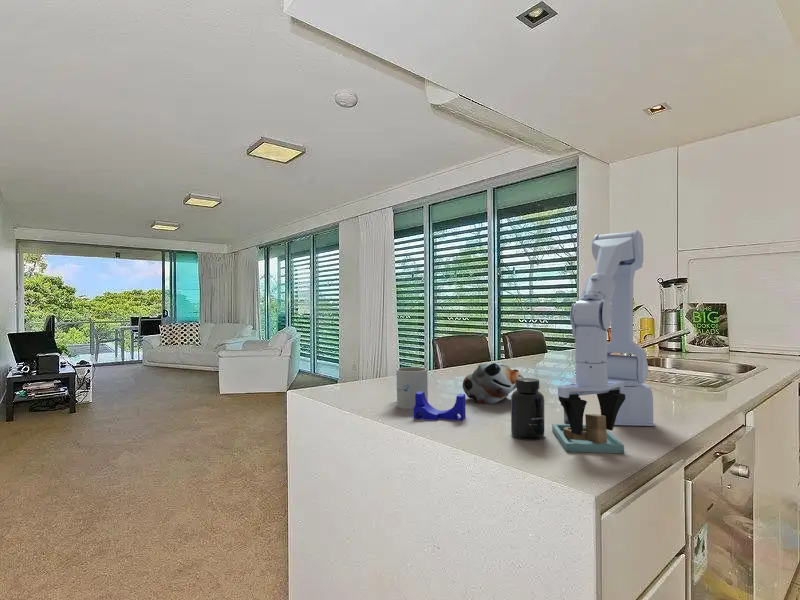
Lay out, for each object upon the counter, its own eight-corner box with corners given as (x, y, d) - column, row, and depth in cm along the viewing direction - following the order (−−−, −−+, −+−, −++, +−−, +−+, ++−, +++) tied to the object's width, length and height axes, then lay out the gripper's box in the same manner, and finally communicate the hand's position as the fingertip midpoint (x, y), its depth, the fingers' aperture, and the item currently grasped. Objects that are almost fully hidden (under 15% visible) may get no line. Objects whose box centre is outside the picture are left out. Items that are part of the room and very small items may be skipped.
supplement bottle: (540, 443, 90) (539, 383, 90) (507, 438, 94) (506, 380, 94) (548, 434, 96) (547, 378, 96) (517, 429, 100) (516, 375, 100)
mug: (432, 407, 122) (432, 370, 122) (402, 410, 119) (402, 372, 119) (417, 398, 133) (416, 364, 133) (389, 400, 131) (388, 366, 131)
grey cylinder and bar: (576, 421, 106) (575, 401, 106) (578, 424, 103) (578, 403, 103) (560, 421, 106) (560, 400, 106) (562, 423, 104) (562, 403, 104)
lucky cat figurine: (504, 393, 137) (522, 356, 132) (512, 418, 126) (532, 378, 121) (458, 381, 136) (474, 342, 131) (462, 405, 125) (479, 364, 120)
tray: (602, 432, 97) (602, 425, 97) (624, 453, 83) (624, 445, 83) (552, 430, 98) (552, 423, 98) (565, 451, 85) (565, 443, 85)
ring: (557, 435, 92) (556, 410, 93) (581, 434, 94) (580, 409, 95) (590, 444, 84) (589, 416, 84) (615, 442, 86) (613, 415, 86)
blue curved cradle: (413, 419, 111) (413, 394, 111) (419, 414, 115) (418, 391, 115) (461, 423, 106) (461, 397, 106) (465, 418, 111) (465, 394, 111)
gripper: (604, 357, 94) (605, 422, 94) (547, 361, 89) (548, 429, 89) (632, 361, 87) (633, 431, 87) (572, 365, 82) (573, 440, 82)
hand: (592, 431), depth 87 cm, fingers open, 7 cm apart
